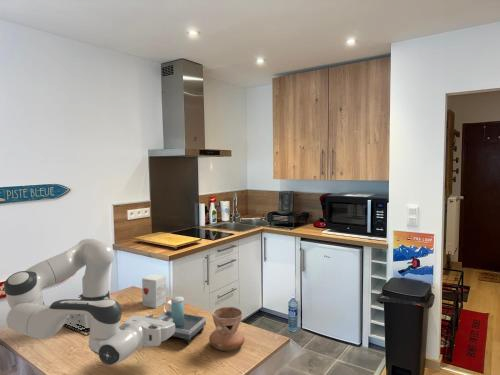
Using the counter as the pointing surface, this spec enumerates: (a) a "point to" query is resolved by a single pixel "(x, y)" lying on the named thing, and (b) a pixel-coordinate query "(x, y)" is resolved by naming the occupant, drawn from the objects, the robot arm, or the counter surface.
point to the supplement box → (154, 290)
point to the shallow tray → (186, 325)
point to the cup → (168, 306)
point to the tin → (177, 310)
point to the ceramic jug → (226, 329)
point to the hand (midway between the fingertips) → (161, 318)
